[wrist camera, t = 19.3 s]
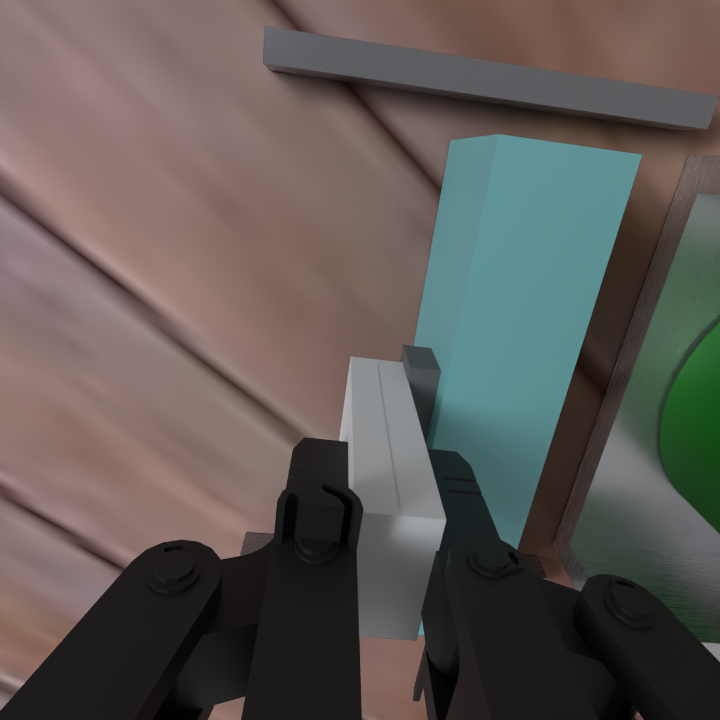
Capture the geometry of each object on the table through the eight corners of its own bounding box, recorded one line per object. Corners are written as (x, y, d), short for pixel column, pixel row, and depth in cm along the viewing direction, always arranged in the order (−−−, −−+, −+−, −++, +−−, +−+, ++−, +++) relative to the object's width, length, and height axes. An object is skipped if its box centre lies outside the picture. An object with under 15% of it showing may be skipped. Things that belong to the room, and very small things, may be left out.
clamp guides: (271, 36, 13) (264, 25, 12) (690, 100, 14) (719, 96, 13) (245, 547, 20) (239, 570, 19) (532, 570, 21) (542, 593, 20)
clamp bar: (423, 136, 14) (459, 128, 10) (549, 154, 15) (642, 154, 10) (362, 519, 20) (366, 631, 15) (455, 527, 20) (488, 639, 15)
